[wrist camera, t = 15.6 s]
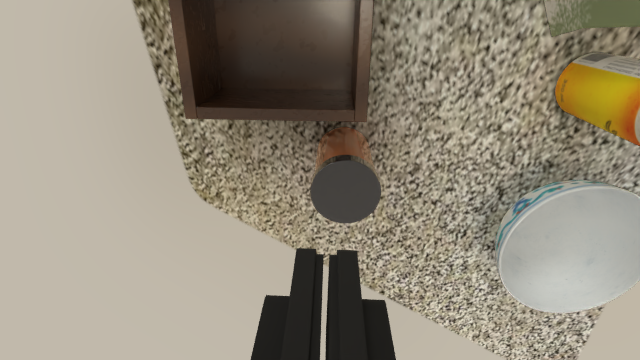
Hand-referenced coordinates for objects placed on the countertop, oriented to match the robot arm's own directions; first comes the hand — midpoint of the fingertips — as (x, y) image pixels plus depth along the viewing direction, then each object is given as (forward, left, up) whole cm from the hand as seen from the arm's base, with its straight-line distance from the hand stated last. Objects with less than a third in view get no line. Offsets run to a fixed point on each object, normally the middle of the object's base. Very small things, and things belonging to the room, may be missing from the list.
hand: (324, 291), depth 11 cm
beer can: (+12, +22, -31) cm, 40 cm away
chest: (-9, 0, -31) cm, 32 cm away
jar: (+7, -2, -31) cm, 31 cm away
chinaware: (+25, +14, -31) cm, 42 cm away
